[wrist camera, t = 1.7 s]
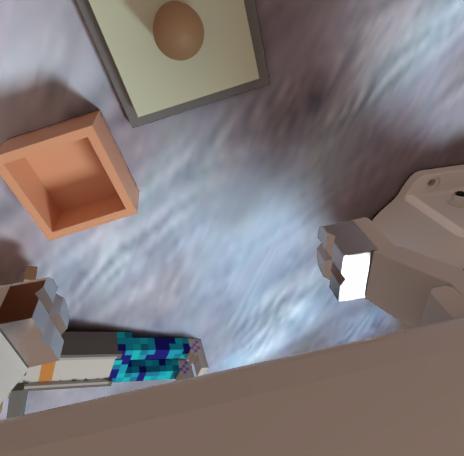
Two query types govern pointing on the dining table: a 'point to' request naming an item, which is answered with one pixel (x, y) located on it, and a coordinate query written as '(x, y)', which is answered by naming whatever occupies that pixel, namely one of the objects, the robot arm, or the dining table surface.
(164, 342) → the toy
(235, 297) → the dining table surface
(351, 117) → the dining table surface
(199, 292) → the dining table surface
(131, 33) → the lid
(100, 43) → the mat
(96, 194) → the orange square open box
